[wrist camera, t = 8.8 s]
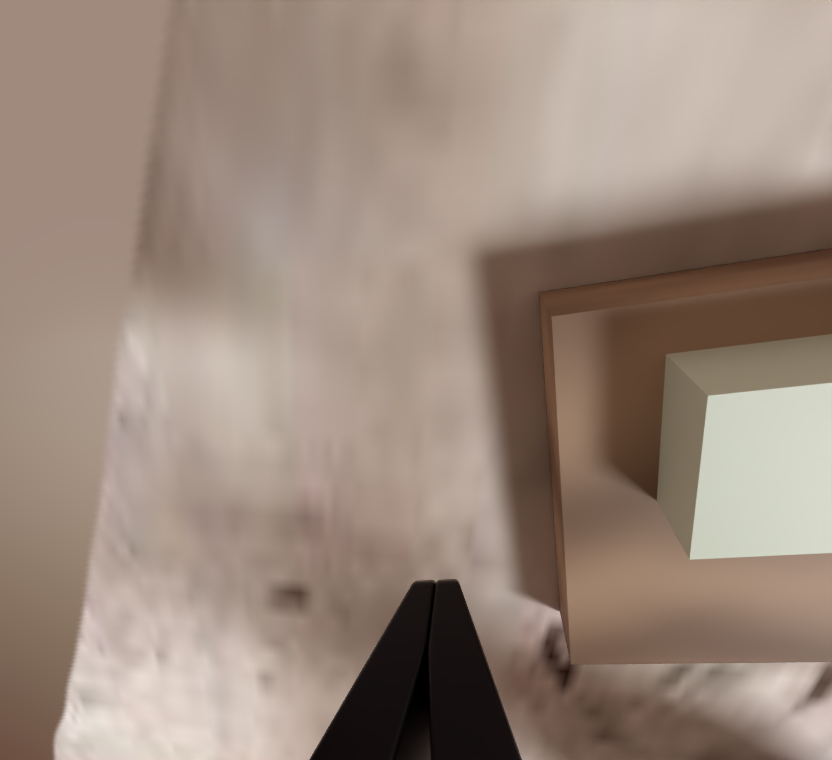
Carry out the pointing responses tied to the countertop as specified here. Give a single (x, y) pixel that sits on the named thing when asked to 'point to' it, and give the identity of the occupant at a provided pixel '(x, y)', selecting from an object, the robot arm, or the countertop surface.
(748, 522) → the sage green cuboid
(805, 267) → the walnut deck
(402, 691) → the robot arm
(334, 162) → the countertop surface
